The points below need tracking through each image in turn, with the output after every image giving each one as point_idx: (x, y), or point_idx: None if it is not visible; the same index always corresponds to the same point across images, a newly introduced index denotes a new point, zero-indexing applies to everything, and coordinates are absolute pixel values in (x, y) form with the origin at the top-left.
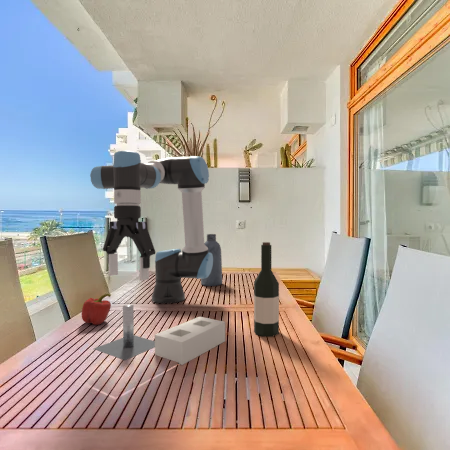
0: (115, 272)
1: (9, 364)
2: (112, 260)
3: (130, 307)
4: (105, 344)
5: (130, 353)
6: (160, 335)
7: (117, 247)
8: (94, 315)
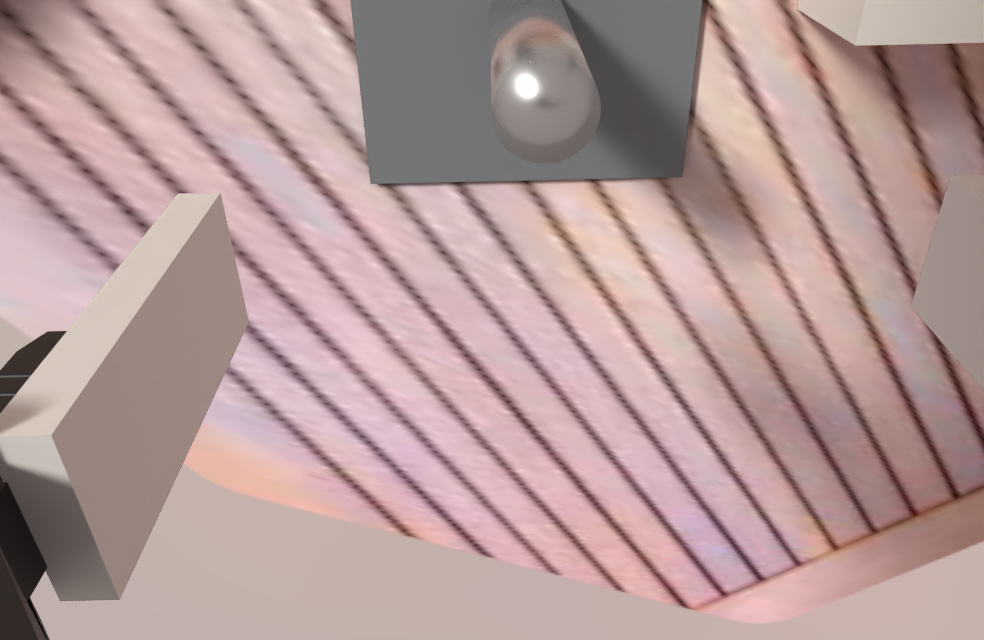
0: (219, 257)
1: (229, 476)
2: (161, 450)
3: (596, 119)
4: (366, 96)
5: (638, 96)
6: (910, 31)
7: (24, 610)
8: None
